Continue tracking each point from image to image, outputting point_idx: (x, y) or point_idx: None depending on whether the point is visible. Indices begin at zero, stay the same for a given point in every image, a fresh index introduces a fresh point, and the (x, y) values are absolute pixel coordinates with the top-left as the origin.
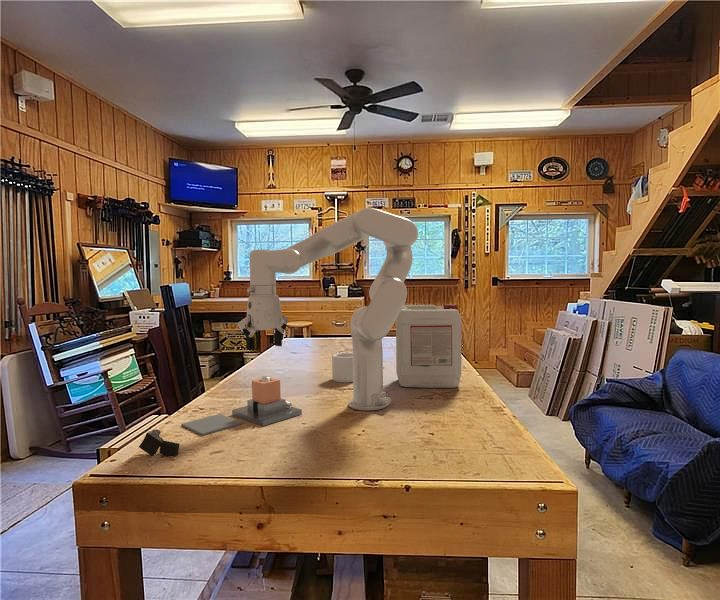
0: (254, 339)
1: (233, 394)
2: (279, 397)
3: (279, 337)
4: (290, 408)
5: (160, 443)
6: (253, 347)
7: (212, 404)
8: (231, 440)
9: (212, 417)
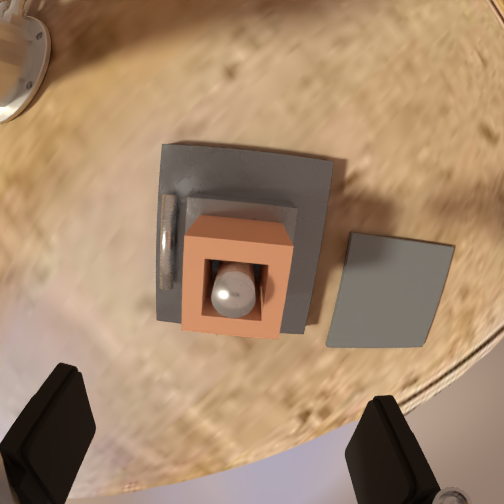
0: (408, 472)
1: (176, 441)
2: (203, 216)
3: (42, 429)
4: (176, 186)
5: None
6: (395, 412)
7: (265, 424)
8: (441, 156)
9: (360, 335)
